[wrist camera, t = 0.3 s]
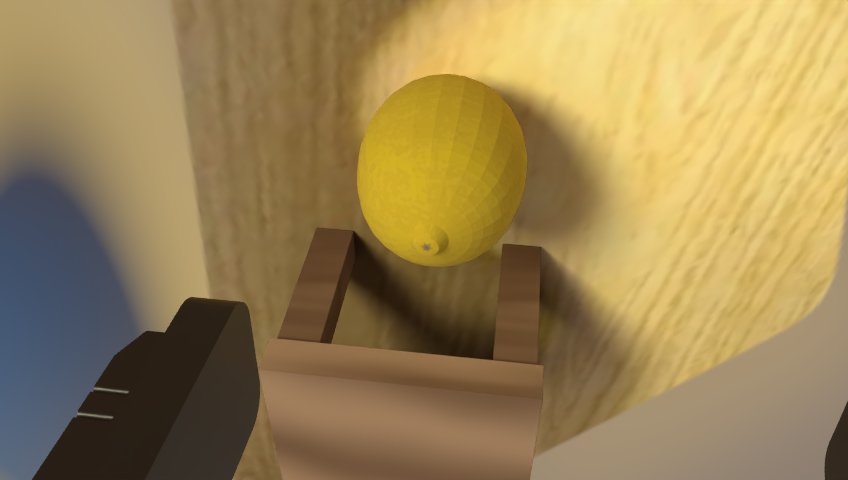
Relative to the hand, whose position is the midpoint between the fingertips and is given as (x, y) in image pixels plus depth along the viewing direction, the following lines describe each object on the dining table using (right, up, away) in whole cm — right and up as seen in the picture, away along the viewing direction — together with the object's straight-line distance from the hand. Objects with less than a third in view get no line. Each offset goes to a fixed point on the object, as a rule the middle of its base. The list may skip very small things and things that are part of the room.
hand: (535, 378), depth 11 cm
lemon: (0, +7, +19) cm, 20 cm away
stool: (-1, -2, +26) cm, 26 cm away
